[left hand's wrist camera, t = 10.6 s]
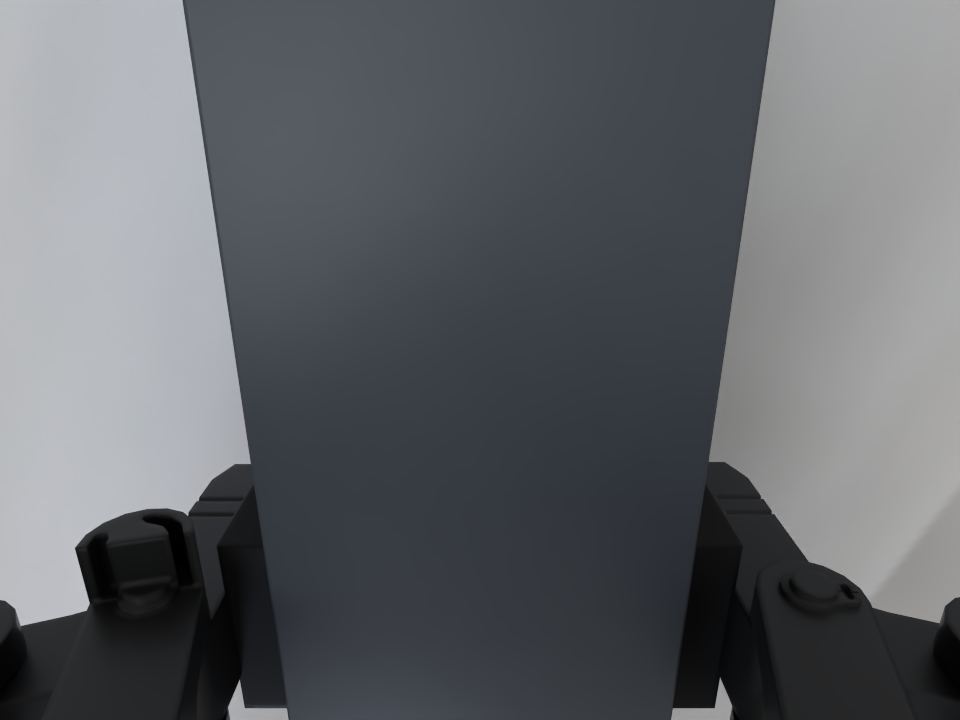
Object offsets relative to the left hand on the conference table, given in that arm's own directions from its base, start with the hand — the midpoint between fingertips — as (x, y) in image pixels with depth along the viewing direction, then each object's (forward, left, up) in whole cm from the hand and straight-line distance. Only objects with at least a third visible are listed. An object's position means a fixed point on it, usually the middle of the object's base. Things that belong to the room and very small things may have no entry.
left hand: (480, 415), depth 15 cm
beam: (+26, -11, -1) cm, 28 cm away
